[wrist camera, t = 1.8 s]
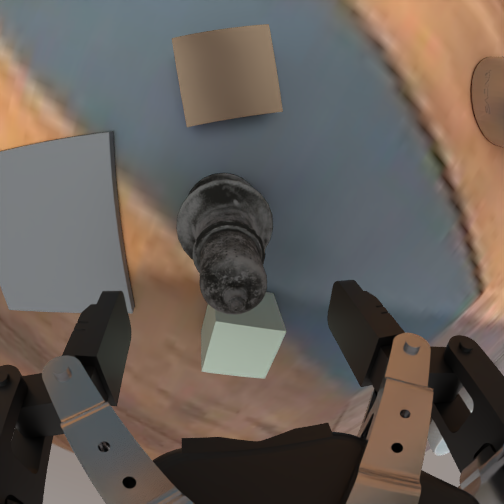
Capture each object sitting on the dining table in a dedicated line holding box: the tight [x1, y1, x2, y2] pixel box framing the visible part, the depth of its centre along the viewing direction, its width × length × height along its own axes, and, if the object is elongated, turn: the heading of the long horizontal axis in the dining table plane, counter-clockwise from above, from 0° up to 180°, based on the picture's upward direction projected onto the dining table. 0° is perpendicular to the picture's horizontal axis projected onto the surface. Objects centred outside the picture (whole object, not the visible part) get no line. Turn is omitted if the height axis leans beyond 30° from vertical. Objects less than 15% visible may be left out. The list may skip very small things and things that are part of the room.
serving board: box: [0, 131, 135, 313], centre depth 20 cm, size 13×14×1 cm
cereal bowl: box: [428, 386, 473, 455], centre depth 38 cm, size 17×17×7 cm
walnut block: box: [172, 24, 283, 127], centre depth 16 cm, size 5×5×5 cm
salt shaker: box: [176, 173, 273, 314], centre depth 17 cm, size 6×6×12 cm
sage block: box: [201, 292, 286, 378], centre depth 24 cm, size 5×5×5 cm
